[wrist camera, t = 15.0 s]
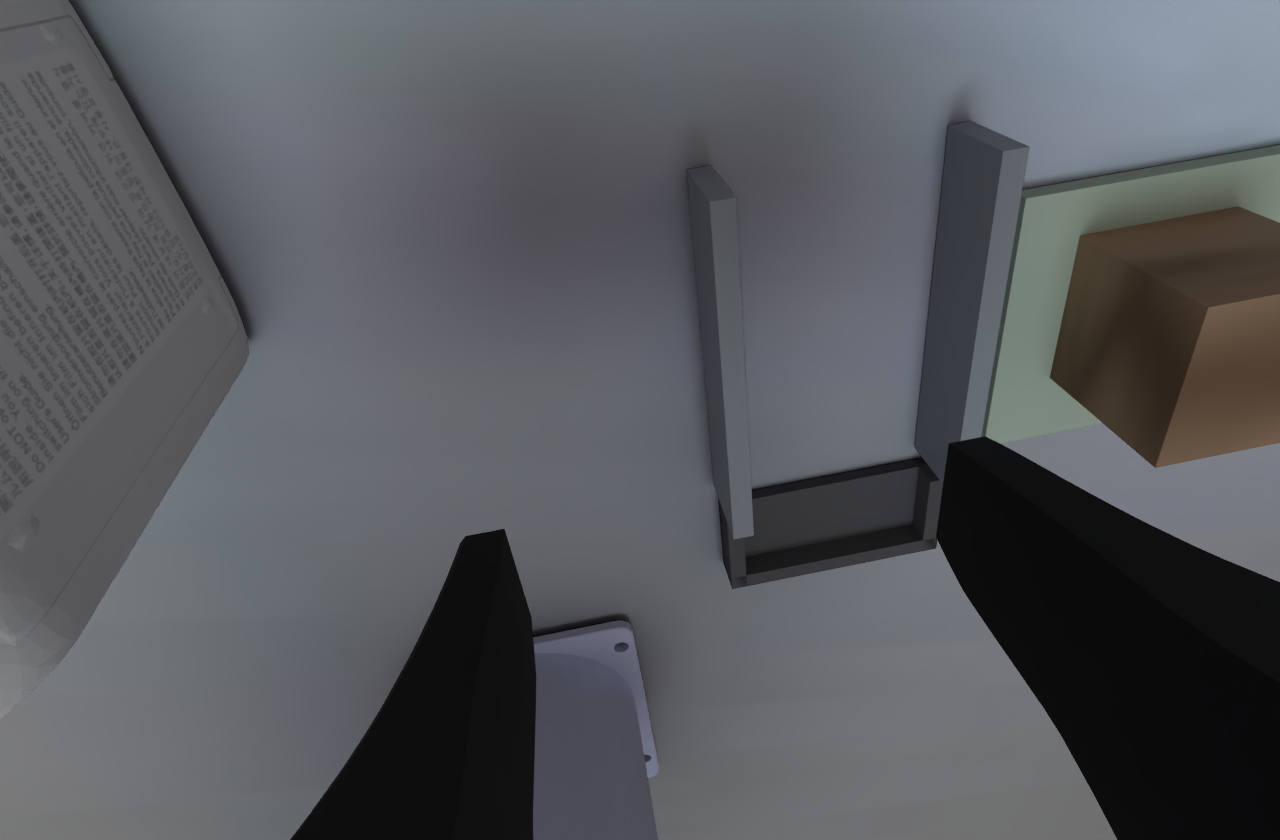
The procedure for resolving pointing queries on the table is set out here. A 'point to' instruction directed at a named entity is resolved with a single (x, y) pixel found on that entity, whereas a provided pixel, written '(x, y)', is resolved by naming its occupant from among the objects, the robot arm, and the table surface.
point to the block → (1177, 334)
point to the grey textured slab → (89, 336)
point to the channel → (957, 321)
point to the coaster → (1046, 257)
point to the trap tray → (835, 522)
